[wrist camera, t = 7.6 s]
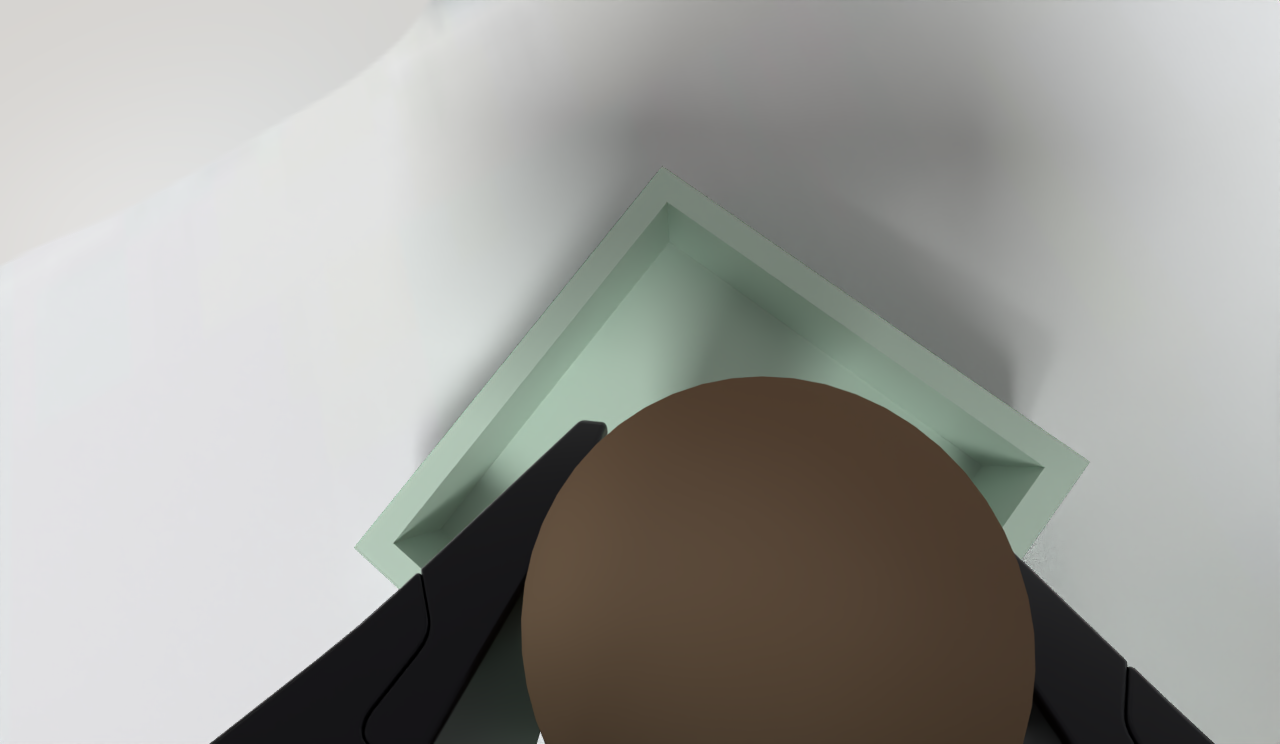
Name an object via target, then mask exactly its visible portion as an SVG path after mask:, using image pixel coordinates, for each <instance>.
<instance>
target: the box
mask: <svg viewBox="0 0 1280 744" xmlns="http://www.w3.org/2000/svg"><path fill="white" fill-rule="evenodd" d="M759 376H766V377H783V378H796V379H801V380H806V381H811V382H817V383H822V384H826V385H829V386H833V387H836V388H839V389H842V390H845V391H848V392H851V393H854V394H857V395H859V396H861V397H863V398H866V399H868V400H870V401H872V402H874V403H876V404H878V405H881V406H883V407H885V408H887V409H888V410H890V411H892V412H893V413H895V414H896V415H898V416H900V417H901V418H903V419H904V420H906V421H908V422H909V423H911V424H912V425H914V426H915V427H916V428H918V429H919V430H920V431H921V432H923V433H924V434H925V435H926V436H928V437H929V438H930V439H931V440H933V441H934V442H935V443H936V444H938V445H939V446H940V447H941V448H942V449H943V450H944V451H945V452H946V453H947V454H948V455H949V456H950V457H951V458H952V459H953V460H954V461H955V462H956V463H957V464H958V465H959V466H960V467H961V468H962V469H963V471H964V472H965V473H966V474H967V475H968V477H969V478H970V479H971V481H972V482H973V483H974V485H975V486H976V487H977V489H978V490H979V491H980V492H981V494H982V495H983V496H984V498H985V499H986V500H987V502H988V504H989V506H990V507H991V509H992V511H993V512H994V514H995V516H996V518H997V519H998V521H999V523H1000V524H1001V526H1002V528H1003V530H1004V532H1005V534H1006V536H1007V538H1008V541H1009V543H1010V545H1011V548H1012V550H1013V552H1014V553H1015V554H1016V555H1017V556H1018V557H1019V558H1020V559H1021V560H1022V558H1023V557H1024V555H1025V554H1026V553H1027V551H1028V550H1029V548H1030V547H1031V545H1032V544H1033V543H1034V541H1035V540H1036V538H1037V537H1038V535H1039V534H1040V533H1041V531H1042V530H1043V528H1044V527H1045V525H1046V524H1047V523H1048V521H1049V520H1050V518H1051V517H1052V515H1053V514H1054V513H1055V511H1056V510H1057V508H1058V507H1059V505H1060V504H1061V503H1062V501H1063V500H1064V498H1065V497H1066V496H1067V494H1068V493H1069V491H1070V490H1071V488H1072V487H1073V486H1074V484H1075V483H1076V481H1077V480H1078V478H1079V477H1080V476H1081V474H1082V473H1083V471H1084V470H1085V468H1086V467H1087V466H1088V464H1089V463H1090V462H1089V461H1088V460H1086V459H1085V458H1084V457H1082V456H1081V455H1079V454H1078V453H1076V452H1075V451H1073V450H1072V449H1071V448H1069V447H1068V446H1066V445H1065V444H1063V443H1062V442H1060V441H1059V440H1058V439H1056V438H1055V437H1053V436H1052V435H1050V434H1049V433H1047V432H1046V431H1044V430H1043V429H1042V428H1040V427H1039V426H1037V425H1036V424H1034V423H1033V422H1031V421H1030V420H1029V419H1027V418H1026V417H1024V416H1023V415H1021V414H1020V413H1018V412H1017V411H1016V410H1014V409H1013V408H1011V407H1010V406H1008V405H1007V404H1005V403H1004V402H1003V401H1001V400H1000V399H998V398H997V397H995V396H994V395H992V394H991V393H990V392H988V391H987V390H985V389H984V388H982V387H981V386H979V385H978V384H977V383H975V382H974V381H972V380H971V379H969V378H968V377H966V376H965V375H963V374H962V373H961V372H959V371H958V370H956V369H955V368H953V367H952V366H950V365H949V364H948V363H946V362H945V361H943V360H942V359H940V358H939V357H937V356H936V355H935V354H933V353H932V352H930V351H929V350H927V349H926V348H924V347H923V346H922V345H920V344H919V343H917V342H916V341H914V340H913V339H911V338H910V337H909V336H907V335H906V334H904V333H903V332H901V331H900V330H898V329H897V328H896V327H894V326H893V325H891V324H890V323H888V322H887V321H885V320H884V319H882V318H881V317H880V316H878V315H877V314H875V313H874V312H872V311H871V310H869V309H868V308H867V307H865V306H864V305H862V304H861V303H859V302H858V301H856V300H855V299H854V298H852V297H851V296H849V295H848V294H846V293H845V292H843V291H842V290H841V289H839V288H838V287H836V286H835V285H833V284H832V283H830V282H829V281H828V280H826V279H825V278H823V277H822V276H820V275H819V274H817V273H816V272H815V271H813V270H812V269H810V268H809V267H807V266H806V265H804V264H803V263H801V262H800V261H799V260H797V259H796V258H794V257H793V256H791V255H790V254H788V253H787V252H786V251H784V250H783V249H781V248H780V247H778V246H777V245H775V244H774V243H773V242H771V241H770V240H768V239H767V238H765V237H764V236H762V235H761V234H760V233H758V232H757V231H755V230H754V229H752V228H751V227H749V226H748V225H747V224H745V223H744V222H742V221H741V220H739V219H738V218H736V217H735V216H733V215H732V214H731V213H729V212H728V211H726V210H725V209H723V208H722V207H720V206H719V205H718V204H716V203H715V202H713V201H712V200H710V199H709V198H707V197H706V196H705V195H703V194H702V193H700V192H699V191H697V190H696V189H694V188H693V187H692V186H690V185H689V184H687V183H686V182H684V181H683V180H681V179H680V178H679V177H677V176H676V175H674V174H673V173H671V172H670V171H668V170H667V169H666V168H664V167H663V166H662V167H661V168H660V170H659V171H658V172H657V173H656V175H655V176H654V177H653V178H652V179H651V181H650V182H649V183H648V184H647V186H646V187H645V188H644V189H643V191H642V192H641V193H640V194H639V196H638V197H637V198H636V199H635V201H634V202H633V203H632V204H631V205H630V207H629V208H628V209H627V210H626V212H625V213H624V214H623V215H622V217H621V218H620V219H619V220H618V222H617V223H616V224H615V225H614V226H613V228H612V229H611V230H610V231H609V233H608V234H607V235H606V236H605V238H604V239H603V240H602V241H601V243H600V244H599V245H598V246H597V248H596V249H595V250H594V251H593V252H592V254H591V255H590V256H589V257H588V259H587V260H586V261H585V262H584V264H583V265H582V266H581V267H580V269H579V270H578V271H577V272H576V274H575V275H574V276H573V277H572V278H571V280H570V281H569V282H568V283H567V285H566V286H565V287H564V288H563V290H562V291H561V292H560V293H559V295H558V296H557V297H556V298H555V299H554V301H553V302H552V303H551V304H550V306H549V307H548V308H547V309H546V311H545V312H544V313H543V314H542V316H541V317H540V318H539V319H538V321H537V322H536V323H535V324H534V325H533V327H532V328H531V329H530V330H529V332H528V333H527V334H526V335H525V337H524V338H523V339H522V340H521V342H520V343H519V344H518V345H517V347H516V348H515V349H514V350H513V351H512V353H511V354H510V355H509V356H508V358H507V359H506V360H505V361H504V363H503V364H502V365H501V366H500V368H499V369H498V370H497V371H496V373H495V374H494V375H493V376H492V377H491V379H490V380H489V381H488V382H487V384H486V385H485V386H484V387H483V389H482V390H481V391H480V392H479V394H478V395H477V396H476V397H475V398H474V400H473V401H472V402H471V403H470V405H469V406H468V407H467V408H466V410H465V411H464V412H463V413H462V415H461V416H460V417H459V418H458V420H457V421H456V422H455V423H454V424H453V426H452V427H451V428H450V429H449V431H448V432H447V433H446V434H445V436H444V437H443V438H442V439H441V441H440V442H439V443H438V444H437V446H436V447H435V448H434V449H433V450H432V452H431V453H430V454H429V455H428V457H427V458H426V459H425V460H424V462H423V463H422V464H421V465H420V467H419V468H418V469H417V470H416V471H415V473H414V474H413V475H412V476H411V478H410V479H409V480H408V481H407V483H406V484H405V485H404V486H403V488H402V489H401V490H400V491H399V493H398V494H397V495H396V496H395V497H394V499H393V500H392V501H391V502H390V504H389V505H388V506H387V507H386V509H385V510H384V511H383V512H382V514H381V515H380V516H379V517H378V519H377V520H376V521H375V522H374V523H373V525H372V526H371V527H370V528H369V530H368V531H367V532H366V533H365V535H364V536H363V537H362V538H361V540H360V541H359V542H358V543H357V544H356V546H355V547H354V548H355V549H356V550H357V551H358V552H359V553H360V554H361V555H362V556H363V557H364V558H366V559H367V560H368V561H369V562H370V563H371V564H372V565H373V566H374V567H375V568H376V569H378V570H379V571H380V572H381V573H382V574H383V575H384V576H385V577H386V578H387V579H388V580H390V581H391V582H392V583H393V584H394V585H395V586H396V587H397V588H398V589H400V588H401V587H402V586H403V585H404V584H405V583H406V582H407V581H409V580H410V579H411V578H412V577H413V576H414V575H415V574H416V573H420V574H421V569H422V568H423V567H424V566H425V565H426V564H427V563H428V562H429V561H430V560H431V559H432V558H433V557H434V556H436V555H437V554H438V553H439V552H440V551H441V550H442V549H443V548H444V547H445V546H446V545H447V544H448V543H449V542H451V541H452V540H453V539H454V538H455V537H456V536H457V535H458V534H459V533H460V532H461V531H462V530H463V529H464V528H465V527H467V526H468V525H469V524H470V523H471V522H472V521H473V520H474V519H475V518H476V517H477V516H478V515H479V514H480V513H481V512H483V511H484V510H485V509H486V508H487V507H488V506H489V505H490V504H491V503H492V502H493V501H494V500H495V499H496V498H497V497H499V496H500V495H501V494H502V493H503V492H504V491H505V490H506V489H507V488H508V487H509V486H510V485H511V484H512V483H514V482H515V481H516V480H517V479H518V478H519V477H520V476H521V475H522V474H523V473H524V472H525V471H526V470H527V469H528V468H530V467H531V466H532V465H533V464H534V463H535V462H536V461H537V460H538V459H539V458H540V457H541V456H542V455H543V454H544V453H546V452H547V451H548V450H549V449H550V448H551V447H552V446H553V445H554V444H555V443H556V442H557V441H558V440H559V439H561V438H562V437H563V436H564V435H565V434H566V433H567V432H568V431H569V430H570V429H571V428H572V427H573V426H574V425H575V424H577V423H578V422H579V421H581V420H588V421H598V422H604V423H605V424H606V425H607V430H608V434H609V433H610V432H611V431H612V430H613V429H614V428H616V427H617V426H618V425H619V424H621V423H622V422H624V421H625V420H627V419H628V418H630V417H631V416H633V415H634V414H636V413H637V412H639V411H640V410H642V409H643V408H645V407H647V406H649V405H651V404H653V403H655V402H657V401H659V400H661V399H663V398H665V397H667V396H669V395H671V394H674V393H677V392H680V391H683V390H686V389H689V388H692V387H695V386H698V385H701V384H705V383H710V382H715V381H720V380H726V379H731V378H744V377H759Z"/></svg>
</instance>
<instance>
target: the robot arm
mask: <svg viewBox="0 0 1280 744" xmlns="http://www.w3.org/2000/svg"><path fill="white" fill-rule="evenodd" d="M606 435H608V430H607V425H606V424H605V423H604V422H598V421H588V420H581V421H579V422H578V423H577V424H575V425H574V426H573V427H572V428H571V429H570V430H569V431H568V432H567V433H566V434H565V435H564V436H563V437H562V438H561V439H559V440H558V441H557V442H556V443H555V444H554V445H553V446H552V447H551V448H550V449H549V450H548V451H547V452H546V453H544V454H543V455H542V456H541V457H540V458H539V459H538V460H537V461H536V462H535V463H534V464H533V465H532V466H531V467H530V468H528V469H527V470H526V471H525V472H524V473H523V474H522V475H521V476H520V477H519V478H518V479H517V480H516V481H515V482H514V483H512V484H511V485H510V486H509V487H508V488H507V489H506V490H505V491H504V492H503V493H502V494H501V495H500V496H499V497H497V498H496V499H495V500H494V501H493V502H492V503H491V504H490V505H489V506H488V507H487V508H486V509H485V510H484V511H483V512H481V513H480V514H479V515H478V516H477V517H476V518H475V519H474V520H473V521H472V522H471V523H470V524H469V525H468V526H467V527H465V528H464V529H463V530H462V531H461V532H460V533H459V534H458V535H457V536H456V537H455V538H454V539H453V540H452V541H451V542H449V543H448V544H447V545H446V546H445V547H444V548H443V549H442V550H441V551H440V552H439V553H438V554H437V555H436V556H434V557H433V558H432V559H431V560H430V561H429V562H428V563H427V564H426V565H425V566H424V567H423V568H422V569H421V574H420V573H416V574H415V575H414V576H413V577H412V578H411V579H410V580H409V581H407V582H406V583H405V584H404V585H403V586H402V587H401V588H400V589H399V590H398V591H397V592H396V593H395V594H393V595H392V596H391V597H390V598H389V599H388V600H387V601H386V602H385V603H383V604H382V605H381V606H380V607H379V608H378V609H377V610H376V611H374V612H373V613H372V614H371V615H370V616H369V617H368V618H367V619H365V620H364V621H363V622H362V623H361V624H360V625H359V626H357V627H356V628H355V629H354V630H353V631H351V632H350V633H349V634H348V635H346V636H345V637H344V638H343V639H342V640H340V641H339V642H338V643H337V644H335V645H334V646H333V647H332V648H331V649H329V650H328V651H327V652H326V653H324V654H323V655H322V656H321V657H319V658H318V659H317V660H316V661H314V662H313V663H312V664H311V665H309V666H308V667H307V668H306V669H304V670H303V671H302V672H300V673H299V674H298V675H297V676H295V677H294V678H293V679H291V680H290V681H289V682H288V683H286V684H285V685H284V686H283V687H281V688H280V689H279V690H277V691H276V692H275V693H274V694H272V695H271V696H270V697H269V698H267V699H266V700H265V701H263V702H262V703H261V704H260V705H258V706H257V707H256V708H254V709H253V710H252V711H251V712H249V713H248V714H247V715H246V716H244V717H243V718H242V719H240V720H239V721H238V722H237V723H235V724H234V725H233V726H232V727H230V728H229V729H228V730H226V731H225V732H224V733H223V734H221V735H220V736H219V737H217V738H216V739H215V740H214V741H212V742H211V743H210V744H537V741H538V738H539V734H540V729H539V727H538V724H537V722H536V719H535V715H534V711H533V708H532V704H531V700H530V696H529V693H528V689H527V684H526V677H525V670H524V663H523V656H522V630H521V616H522V606H523V596H524V586H525V581H526V577H527V572H528V568H529V563H530V559H531V555H532V551H533V548H534V546H535V543H536V540H537V537H538V535H539V532H540V529H541V526H542V524H543V521H544V519H545V517H546V515H547V513H548V511H549V509H550V508H551V506H552V504H553V502H554V500H555V498H556V496H557V494H558V492H559V491H560V489H561V488H562V486H563V485H564V484H565V482H566V481H567V479H568V478H569V476H570V475H571V473H572V472H573V470H574V469H575V468H576V466H577V465H578V464H579V463H580V462H581V461H582V460H583V459H584V457H585V456H586V455H587V454H588V453H589V452H590V451H591V450H592V448H593V447H594V446H595V445H596V444H597V443H598V442H600V441H601V440H602V439H603V438H604V437H605V436H606ZM1014 555H1015V557H1016V559H1017V562H1018V564H1019V568H1020V571H1021V574H1022V578H1023V581H1024V585H1025V588H1026V591H1027V595H1028V598H1029V605H1030V611H1031V617H1032V623H1033V630H1034V642H1035V679H1034V689H1033V699H1032V708H1031V712H1030V716H1029V720H1028V725H1027V729H1026V733H1025V737H1024V741H1023V744H1214V743H1213V742H1212V741H1211V740H1210V739H1209V738H1208V737H1207V736H1206V735H1205V734H1204V733H1203V732H1202V731H1200V730H1199V729H1198V728H1197V727H1196V726H1195V725H1194V724H1193V723H1192V722H1191V721H1190V720H1189V719H1188V718H1187V717H1185V716H1184V715H1183V714H1182V713H1181V712H1180V711H1179V710H1178V709H1177V708H1176V707H1175V706H1174V705H1173V704H1171V703H1170V702H1169V701H1168V700H1167V699H1166V698H1165V697H1164V696H1163V695H1162V694H1161V693H1160V692H1159V691H1158V690H1157V689H1156V688H1155V687H1154V686H1153V685H1152V684H1150V683H1149V682H1148V681H1147V680H1146V679H1145V678H1144V677H1143V676H1142V675H1141V674H1140V673H1139V672H1138V671H1137V670H1136V669H1135V668H1133V667H1127V661H1126V660H1125V659H1124V658H1123V657H1122V656H1121V655H1120V654H1119V653H1118V652H1117V651H1116V650H1115V649H1114V648H1113V647H1112V646H1111V645H1110V644H1109V643H1108V642H1106V641H1105V640H1104V639H1103V638H1102V637H1101V636H1100V635H1099V634H1098V633H1097V632H1096V631H1095V630H1094V629H1093V628H1092V627H1091V626H1090V625H1089V624H1088V623H1087V622H1086V621H1085V620H1084V619H1083V618H1082V617H1080V616H1079V615H1078V614H1077V613H1076V612H1075V611H1074V610H1073V609H1072V608H1071V607H1070V606H1069V605H1068V604H1067V603H1066V602H1065V601H1064V600H1063V599H1062V598H1061V597H1060V596H1059V595H1058V594H1057V593H1056V592H1054V591H1053V590H1052V589H1051V588H1050V587H1049V586H1048V585H1047V584H1046V583H1045V582H1044V581H1043V580H1042V579H1041V578H1040V577H1039V576H1038V575H1037V574H1036V573H1035V572H1034V571H1033V570H1032V569H1031V568H1030V567H1028V566H1027V565H1026V564H1025V563H1024V562H1023V561H1022V560H1021V559H1020V558H1019V557H1018V556H1017V555H1016V554H1015V553H1014Z"/></svg>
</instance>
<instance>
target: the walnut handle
mask: <svg viewBox="0 0 1280 744" xmlns="http://www.w3.org/2000/svg"><path fill="white" fill-rule="evenodd" d="M521 630H522V656H523V663H524V670H525V677H526V684H527V689H528V693H529V696H530V700H531V704H532V708H533V711H534V715H535V719H536V722H537V724H538V727H539V729H540V732H541V734H542V737H543V739H544V742H545V744H1023V741H1024V737H1025V733H1026V729H1027V725H1028V720H1029V716H1030V712H1031V708H1032V699H1033V689H1034V679H1035V642H1034V630H1033V623H1032V617H1031V611H1030V605H1029V598H1028V595H1027V591H1026V588H1025V585H1024V581H1023V578H1022V574H1021V571H1020V568H1019V564H1018V562H1017V559H1016V557H1015V555H1014V552H1013V550H1012V548H1011V545H1010V543H1009V541H1008V538H1007V536H1006V534H1005V532H1004V530H1003V528H1002V526H1001V524H1000V523H999V521H998V519H997V518H996V516H995V514H994V512H993V511H992V509H991V507H990V506H989V504H988V502H987V500H986V499H985V498H984V496H983V495H982V494H981V492H980V491H979V490H978V489H977V487H976V486H975V485H974V483H973V482H972V481H971V479H970V478H969V477H968V475H967V474H966V473H965V472H964V471H963V469H962V468H961V467H960V466H959V465H958V464H957V463H956V462H955V461H954V460H953V459H952V458H951V457H950V456H949V455H948V454H947V453H946V452H945V451H944V450H943V449H942V448H941V447H940V446H939V445H938V444H936V443H935V442H934V441H933V440H931V439H930V438H929V437H928V436H926V435H925V434H924V433H923V432H921V431H920V430H919V429H918V428H916V427H915V426H914V425H912V424H911V423H909V422H908V421H906V420H904V419H903V418H901V417H900V416H898V415H896V414H895V413H893V412H892V411H890V410H888V409H887V408H885V407H883V406H881V405H878V404H876V403H874V402H872V401H870V400H868V399H866V398H863V397H861V396H859V395H857V394H854V393H851V392H848V391H845V390H842V389H839V388H836V387H833V386H829V385H826V384H822V383H817V382H811V381H806V380H801V379H796V378H783V377H766V376H759V377H744V378H731V379H726V380H720V381H715V382H710V383H705V384H701V385H698V386H695V387H692V388H689V389H686V390H683V391H680V392H677V393H674V394H671V395H669V396H667V397H665V398H663V399H661V400H659V401H657V402H655V403H653V404H651V405H649V406H647V407H645V408H643V409H642V410H640V411H639V412H637V413H636V414H634V415H633V416H631V417H630V418H628V419H627V420H625V421H624V422H622V423H621V424H619V425H618V426H617V427H616V428H614V429H613V430H612V431H611V432H610V433H609V434H608V435H606V436H605V437H604V438H603V439H602V440H601V441H600V442H598V443H597V444H596V445H595V446H594V447H593V448H592V450H591V451H590V452H589V453H588V454H587V455H586V456H585V457H584V459H583V460H582V461H581V462H580V463H579V464H578V465H577V466H576V468H575V469H574V470H573V472H572V473H571V475H570V476H569V478H568V479H567V481H566V482H565V484H564V485H563V486H562V488H561V489H560V491H559V492H558V494H557V496H556V498H555V500H554V502H553V504H552V506H551V508H550V509H549V511H548V513H547V515H546V517H545V519H544V521H543V524H542V526H541V529H540V532H539V535H538V537H537V540H536V543H535V546H534V548H533V551H532V555H531V559H530V563H529V568H528V572H527V577H526V581H525V586H524V596H523V606H522V616H521Z"/></svg>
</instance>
